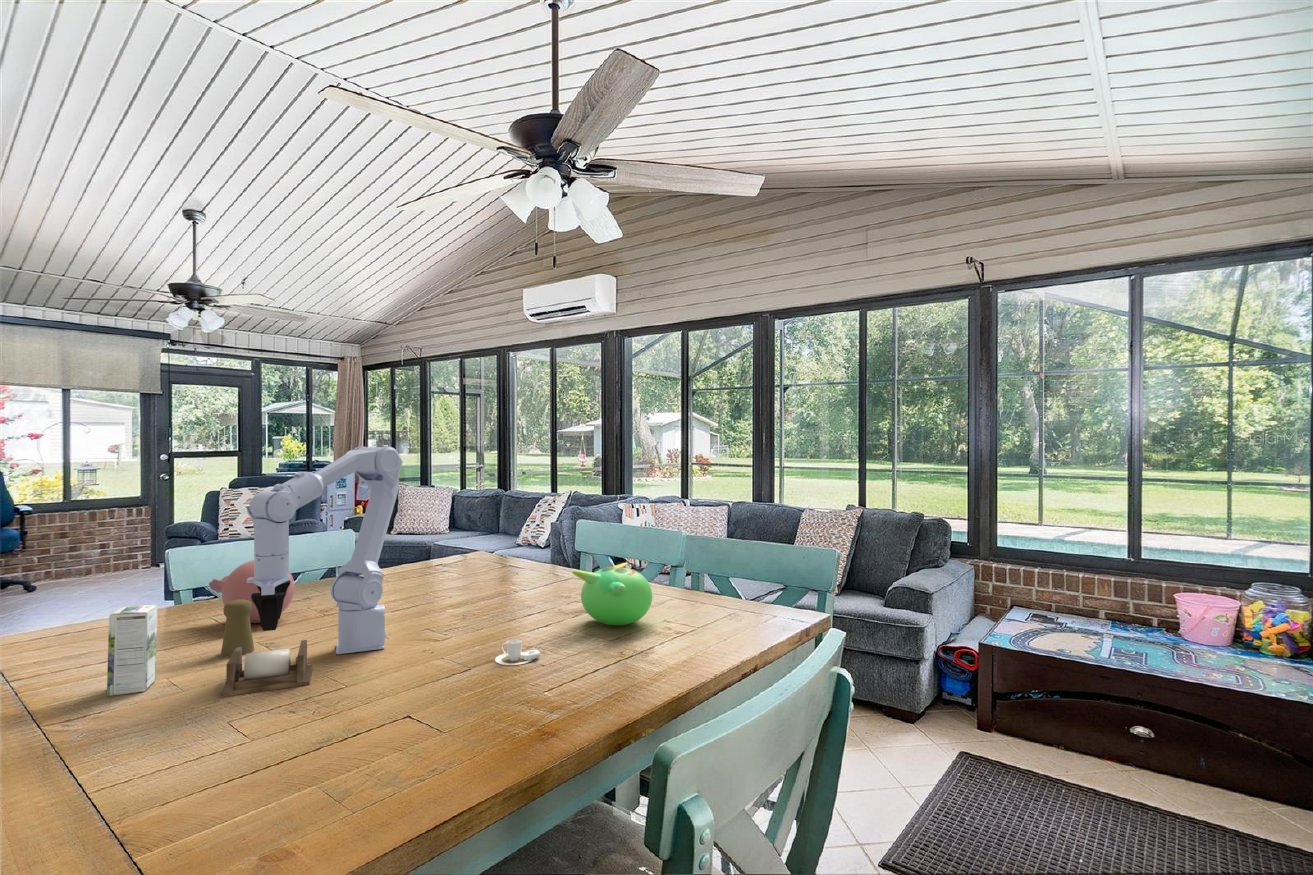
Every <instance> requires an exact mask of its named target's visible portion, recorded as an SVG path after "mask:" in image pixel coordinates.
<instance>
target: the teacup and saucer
mask: <svg viewBox="0 0 1313 875" xmlns="http://www.w3.org/2000/svg"><path fill="white" fill-rule="evenodd" d="M503 645H506V651H507V653H506V651H505V650H504V646H503ZM500 648H501V651H502V654H500V655H497V656H496V657H495V659H494V662H495V663H496V664H499V665H503V666H520V665H525V664H528V663H530V662H533V660H536V659H538V658H539V657H540V655H541V652H540V651H539V650H537V649H531V650H528V651H525V652H523V651H522V650H523V640H522V639H519V638H513V639H509V640H507V641H506V642H503V643H502V644H501V646H500ZM506 657H507V659H508V660H509V661H510V662H515V661H519V660H520V659H521V658H522V660H523V661H522V662H521V661H520V662H518V663H517V662H516V663H509V662H504V661H503V660H502V659H504V658H506Z"/></svg>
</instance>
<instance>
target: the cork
mask: <svg viewBox="0 0 1313 875" xmlns="http://www.w3.org/2000/svg"><path fill="white" fill-rule="evenodd" d="M251 611H252V603H251V602H250V601H249V600H243V599H241V600H233V601H230V602H228V603H226V604H225V606H224V605H223V616H225V618H226V619H225V624H224V625H225V626H224V632H223V639H222V645H221V651H220V656H221V657H223V658H225V657H226V658H227V657H228V658H230V657H231V655H232V654H233V652H234V650H235V648H238V647H242V656H246V654H247V653H254V651H255V647H254V639H253V633H252V625H251V624H252V623H250V618H249V614H250V613H251Z"/></svg>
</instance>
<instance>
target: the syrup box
mask: <svg viewBox="0 0 1313 875" xmlns="http://www.w3.org/2000/svg"><path fill="white" fill-rule="evenodd" d="M158 608H159V607H158V605H155V604H154V605H152V604H151V605H150V604H143V605H129V606H124V607H123V606H122V607H120V608H119V609H117V610H116V611H113V612H112V613H111V614H110V615H109V616H108V638H107V640H108V642H107V643H108V645H107V676H106V677H107V678H106V679H107V683H106V696H108V697H110V696H119V695H126V694H127V695H128V694H134V693H142V692H146V691H148V689H150V687H151V686H152V685H153V684H154V683H155V681H156V679H157V678H156V677H157V672H156V671H157V646H158V645H157V640H158V638H157V637H158V636H157V635H158V633H157V632H158V631H157V630H158Z"/></svg>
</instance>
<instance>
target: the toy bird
mask: <svg viewBox="0 0 1313 875" xmlns="http://www.w3.org/2000/svg"><path fill="white" fill-rule="evenodd" d="M627 565H628V562H622V563H619V564H617V565H612V566H607V567H604V568H602V569H601V568H600V569H598V570H596V571H595V572H591V571H586V570H585V571H584V570H576V569H575V570H572V572H571V574H573V575H574V576H576V577H577V578H579V579H581V580H583V581H584V583H583V585H582V588H581V592H580V600H581V604H582V606H583V609H584V610H585V612H586V613H587V614H588V615H589V616H590V617H591V618H592V619H593V620H595V621H597V622H599V623H601V624H605V625H608V626H626V625H630V624H633V623H635V622H638V621H639V620H641V619H642V618H644V616H646V614H647V613H648V611H649V610H650V608H651V606H652V602H653V590H652V588H651V585H650V583H649V582H648V580H647V579H646V577H645V576H643V574H642V573H639V572H638V571H637V570H634V569H632V568H628V567H626V566H627Z"/></svg>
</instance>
